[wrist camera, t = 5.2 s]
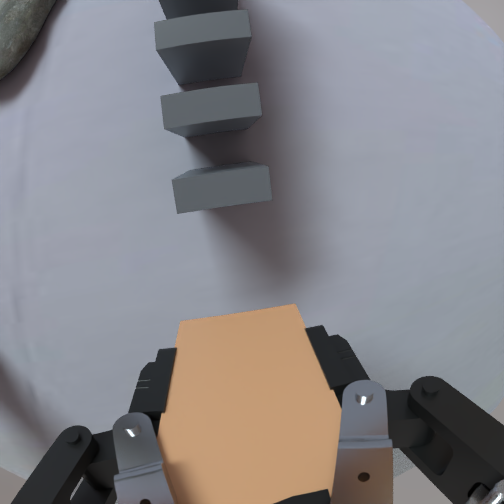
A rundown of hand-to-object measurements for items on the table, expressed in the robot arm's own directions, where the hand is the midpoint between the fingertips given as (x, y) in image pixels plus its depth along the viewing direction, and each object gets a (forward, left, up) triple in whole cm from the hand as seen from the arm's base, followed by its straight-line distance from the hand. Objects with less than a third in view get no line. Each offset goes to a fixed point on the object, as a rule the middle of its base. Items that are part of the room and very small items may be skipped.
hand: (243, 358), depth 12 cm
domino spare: (0, 0, -2) cm, 2 cm away
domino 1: (+4, +4, -16) cm, 17 cm away
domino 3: (+9, +11, -16) cm, 22 cm away
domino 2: (+7, +8, -16) cm, 19 cm away
